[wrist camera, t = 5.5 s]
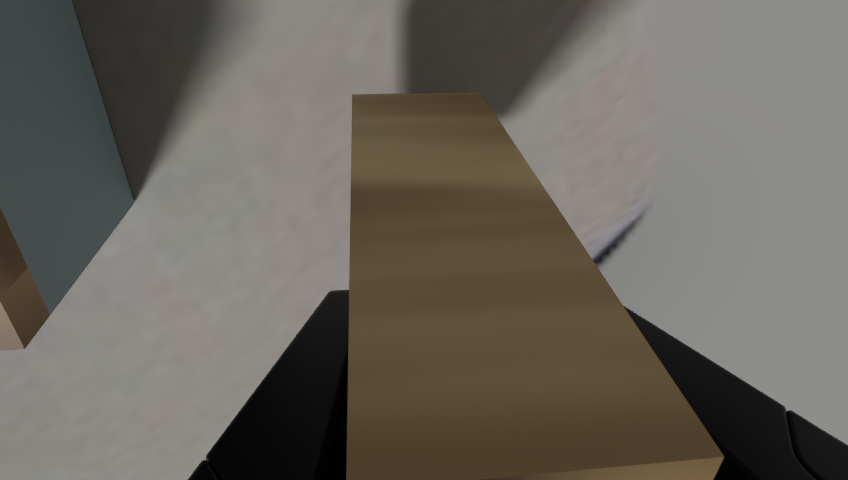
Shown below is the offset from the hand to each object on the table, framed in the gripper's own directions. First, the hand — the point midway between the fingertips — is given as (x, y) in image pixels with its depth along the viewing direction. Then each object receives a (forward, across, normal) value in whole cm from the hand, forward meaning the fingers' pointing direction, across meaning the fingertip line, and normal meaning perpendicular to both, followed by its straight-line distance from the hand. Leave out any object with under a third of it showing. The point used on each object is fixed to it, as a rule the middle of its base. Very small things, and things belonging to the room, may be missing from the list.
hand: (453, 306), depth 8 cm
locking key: (+6, 0, 0) cm, 6 cm away
